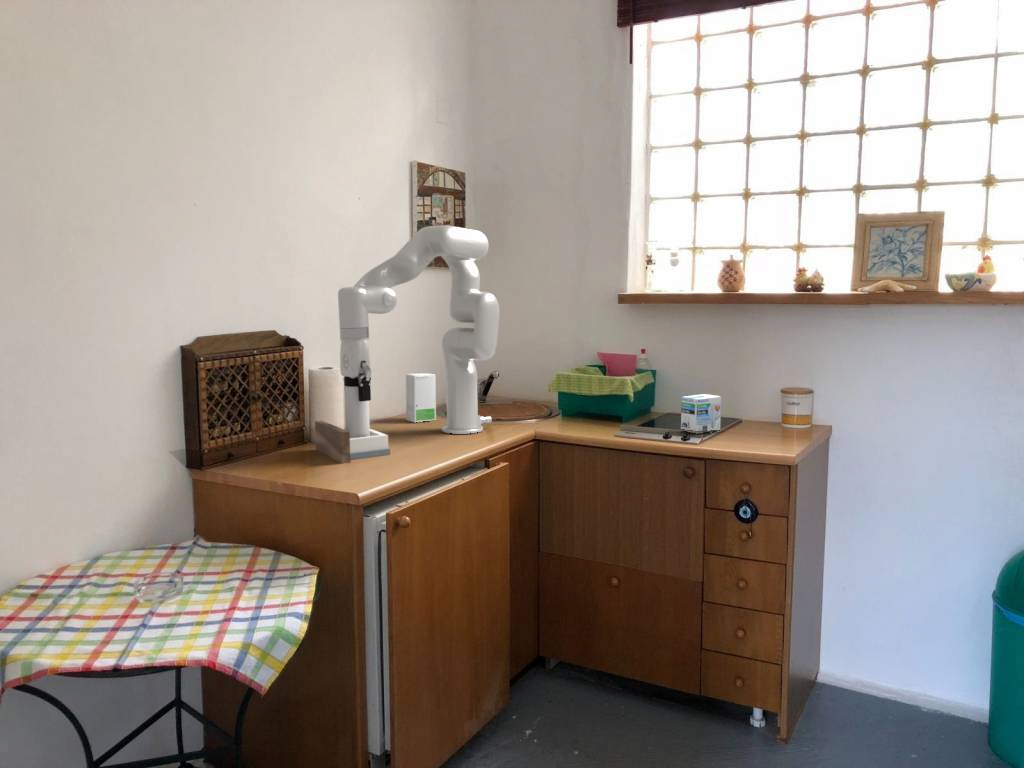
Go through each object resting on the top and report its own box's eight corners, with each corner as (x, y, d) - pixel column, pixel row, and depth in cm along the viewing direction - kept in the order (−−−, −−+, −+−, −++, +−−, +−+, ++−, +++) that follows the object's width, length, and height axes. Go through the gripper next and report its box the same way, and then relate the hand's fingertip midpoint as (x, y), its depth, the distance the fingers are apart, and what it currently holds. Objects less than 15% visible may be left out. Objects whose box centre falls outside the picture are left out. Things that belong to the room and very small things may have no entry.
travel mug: (366, 450, 209) (363, 374, 206) (342, 449, 210) (340, 374, 208) (374, 445, 215) (372, 371, 212) (351, 444, 216) (349, 371, 214)
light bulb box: (696, 435, 235) (696, 398, 234) (679, 431, 241) (680, 396, 240) (721, 431, 241) (722, 395, 240) (704, 427, 247) (705, 393, 245)
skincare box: (414, 423, 258) (413, 375, 256) (405, 420, 263) (404, 373, 261) (437, 420, 262) (436, 374, 260) (428, 418, 268) (427, 372, 266)
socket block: (369, 445, 222) (368, 428, 221) (390, 454, 210) (389, 435, 210) (327, 450, 216) (327, 432, 215) (347, 460, 204) (346, 440, 203)
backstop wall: (322, 449, 218) (321, 420, 217) (350, 462, 201) (349, 431, 200) (315, 450, 217) (314, 421, 216) (342, 463, 200) (341, 432, 199)
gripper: (329, 333, 214) (332, 396, 217) (353, 337, 200) (356, 404, 202) (355, 331, 218) (358, 393, 221) (381, 335, 204) (384, 401, 206)
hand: (357, 398), depth 211 cm, fingers open, 9 cm apart
